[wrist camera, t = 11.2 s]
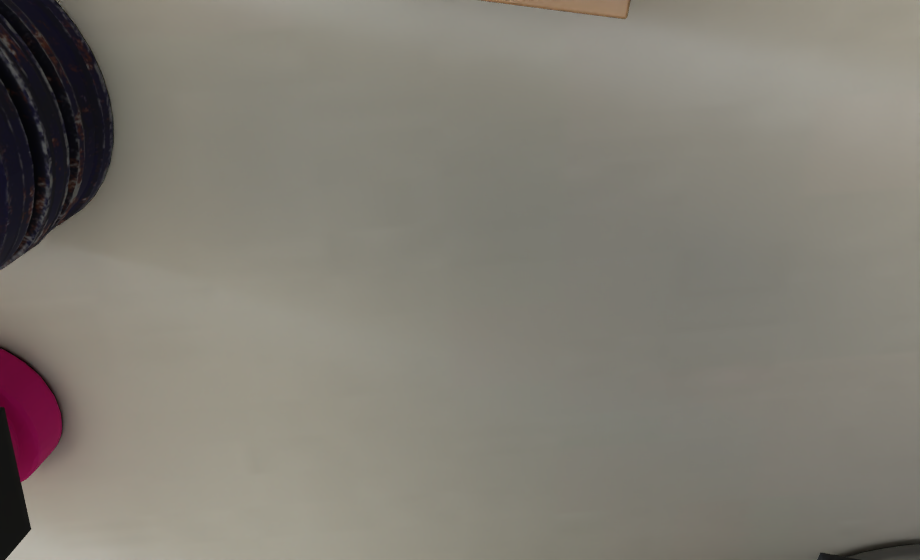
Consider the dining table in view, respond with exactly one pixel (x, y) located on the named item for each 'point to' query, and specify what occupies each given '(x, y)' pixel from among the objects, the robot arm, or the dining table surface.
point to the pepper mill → (28, 413)
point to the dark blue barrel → (47, 123)
